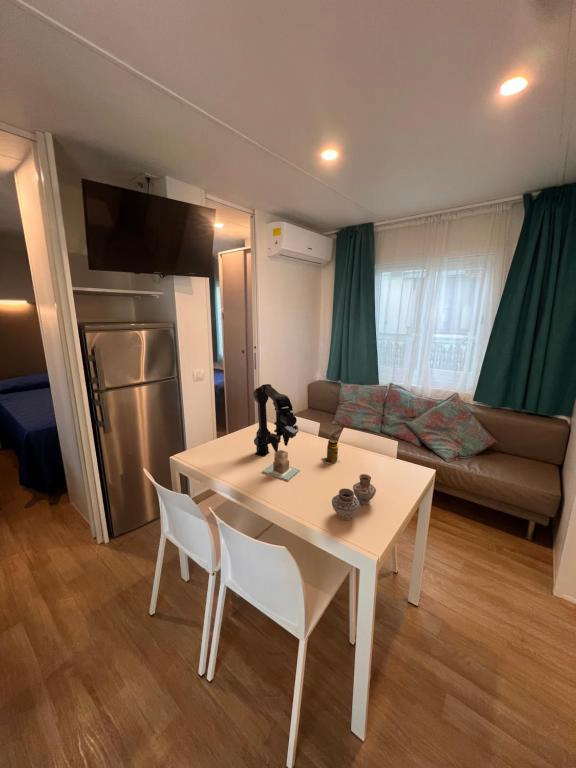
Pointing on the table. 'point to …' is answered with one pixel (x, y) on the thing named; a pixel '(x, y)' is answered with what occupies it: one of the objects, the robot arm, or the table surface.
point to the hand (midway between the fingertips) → (281, 448)
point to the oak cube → (281, 457)
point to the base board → (285, 476)
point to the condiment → (331, 452)
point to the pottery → (353, 498)
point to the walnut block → (281, 467)
